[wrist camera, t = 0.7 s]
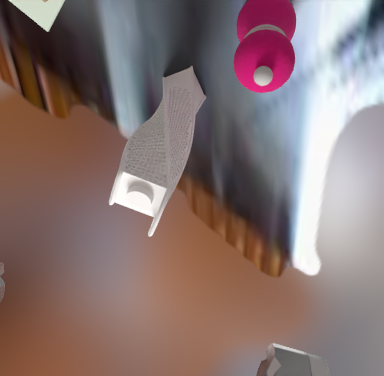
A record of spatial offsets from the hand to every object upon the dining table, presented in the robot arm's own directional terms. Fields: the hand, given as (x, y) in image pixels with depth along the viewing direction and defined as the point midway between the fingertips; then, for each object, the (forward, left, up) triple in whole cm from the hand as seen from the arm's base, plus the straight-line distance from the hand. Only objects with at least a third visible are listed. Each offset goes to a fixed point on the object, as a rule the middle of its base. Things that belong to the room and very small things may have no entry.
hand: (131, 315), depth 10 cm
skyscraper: (+17, +5, -46) cm, 50 cm away
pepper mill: (+1, +6, -47) cm, 47 cm away
